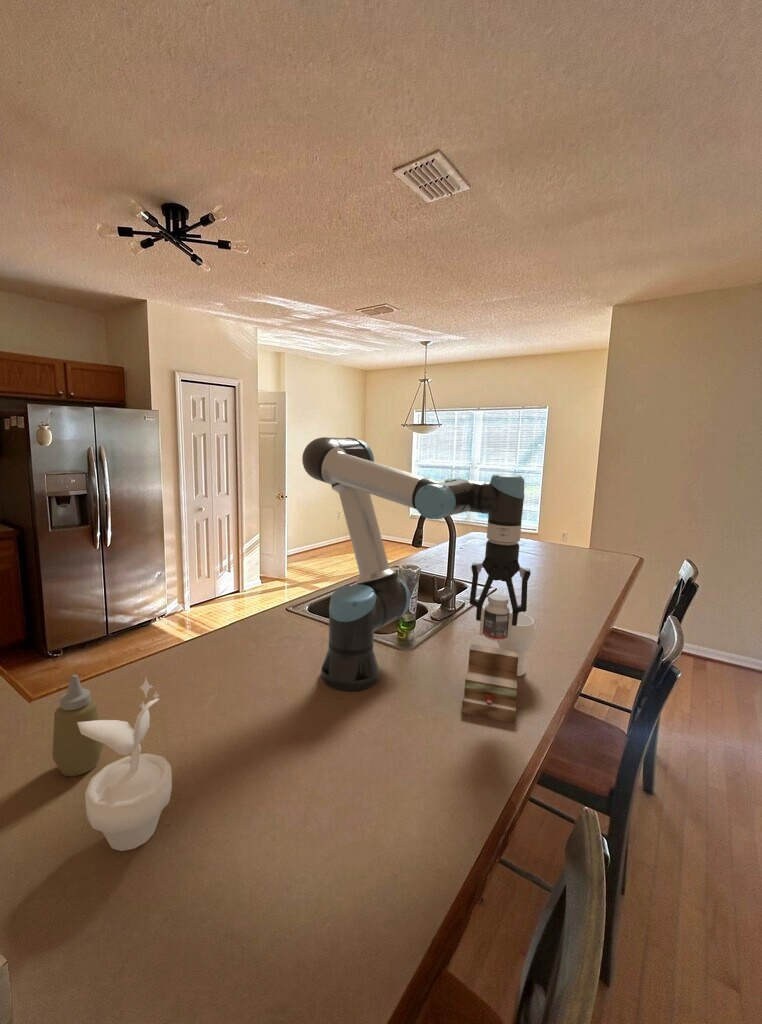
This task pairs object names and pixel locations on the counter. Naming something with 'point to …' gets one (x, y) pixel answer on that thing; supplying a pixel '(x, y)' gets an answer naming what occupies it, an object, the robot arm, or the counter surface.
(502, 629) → the pill bottle
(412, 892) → the counter surface
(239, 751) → the counter surface
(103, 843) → the counter surface
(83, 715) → the squeeze bottle
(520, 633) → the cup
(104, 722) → the potted plant
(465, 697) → the stand
